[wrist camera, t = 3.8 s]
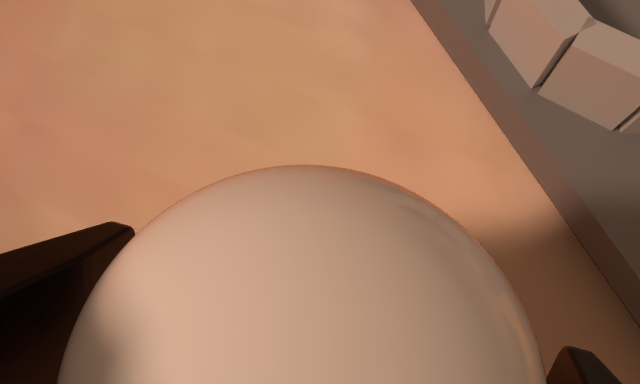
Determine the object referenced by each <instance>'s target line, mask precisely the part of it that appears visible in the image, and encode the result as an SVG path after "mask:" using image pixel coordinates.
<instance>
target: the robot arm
mask: <svg viewBox="0 0 640 384" xmlns="http://www.w3.org/2000/svg"><path fill="white" fill-rule="evenodd" d="M134 236H135V231H134V229H133V228H132V227H131V226H128V225H124V224H121V223H117V222H106V223H103V224H100V225H96V226H93V227H90V228H86V229H83V230H79V231H76V232H73V233H69V234H66V235H63V236H59V237H56V238H52V239H49V240H46V241H42V242H39V243H36V244H32V245H29V246H25V247H22V248H19V249H15V250H12V251H9V252H5V253H2V254H0V384H56V383H57V378H58V373H59V369H60V365H61V361H62V358H63V355H64V351H65V348H66V345H67V342H68V339H69V337H70V334H71V332H72V329H73V327H74V324H75V322H76V320H77V318H78V315H79V313H80V311H81V309H82V307H83V305H84V303H85V302H86V300H87V298H88V296H89V294H90V293H91V291H92V289H93V288H94V286H95V284H96V283H97V281H98V280H99V278H100V277H101V275H102V274H103V272H104V271H105V270H106V268H107V267H108V266H109V264H110V263H111V262H112V260H113V259H114V258H115V257H116V255H117V254H118V253H119V252H120V251H121V250H122V248H123V247H124V246H125V245H126V244H127V243H128V242H129V241H130V240H131V239H132V238H133V237H134ZM546 380H547V384H622V383H621V382H620V381H619V380H618V379H617V378H616V377H615V376H614V375H613V374H612V373H611V372H610V371H609V369H608V368H607V367H606V366H605V365H604V364H603V363H602V362H601V361H600V360H599V359H598V358H597V357H596V356H595V355H594V354H593V353H592V352H589V351H586V350H582V349H579V348H575V347H571V346H566V347H563V348H562V349H561V351H560V352H559V354H558V356H557V358H556V360H555V362H554V364H553V366H552V368H551V370H550V372H549V374H548V376H547V378H546Z"/></svg>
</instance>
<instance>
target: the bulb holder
mask: <svg viewBox="0 0 640 384" xmlns="http://www.w3.org/2000/svg"><path fill="white" fill-rule="evenodd" d="M411 1H412V3H413V4H414V6H415V7H416V9H417V10H418V11H419V13H420V14H421V16H422V17H423V18H424V20H425V21H426V23H427V24H428V26H429V27H430V28H431V30H432V31H433V33H434V34H435V36H436V37H437V38H438V40H439V41H440V43H441V44H442V46H443V47H444V48H445V50H446V51H447V53H448V54H449V56H450V57H451V58H452V60H453V61H454V63H455V64H456V65H457V67H458V68H459V70H460V71H461V73H462V74H463V75H464V77H465V78H466V80H467V81H468V83H469V84H470V85H471V87H472V88H473V90H474V91H475V93H476V94H477V95H478V97H479V98H480V100H481V101H482V103H483V104H484V105H485V107H486V108H487V110H488V111H489V113H490V114H491V115H492V117H493V118H494V120H495V121H496V122H497V124H498V125H499V127H500V128H501V130H502V131H503V132H504V134H505V135H506V137H507V138H508V140H509V141H510V142H511V144H512V145H513V147H514V148H515V150H516V151H517V152H518V154H519V155H520V157H521V158H522V160H523V161H524V162H525V164H526V165H527V167H528V168H529V169H530V171H531V172H532V174H533V175H534V177H535V178H536V179H537V181H538V182H539V184H540V185H541V187H542V188H543V189H544V191H545V192H546V194H547V195H548V197H549V198H550V199H551V201H552V202H553V204H554V205H555V207H556V208H557V209H558V211H559V212H560V214H561V215H562V216H563V218H564V219H565V221H566V222H567V224H568V225H569V226H570V228H571V229H572V231H573V232H574V234H575V235H576V236H577V238H578V239H579V241H580V242H581V244H582V245H583V246H584V248H585V249H586V251H587V252H588V254H589V255H590V256H591V258H592V259H593V261H594V262H595V263H596V265H597V266H598V268H599V269H600V271H601V272H602V273H603V275H604V276H605V278H606V279H607V281H608V282H609V283H610V285H611V286H612V288H613V289H614V291H615V292H616V293H617V295H618V296H619V298H620V299H621V301H622V302H623V303H624V305H625V306H626V308H627V309H628V310H629V312H630V313H631V315H632V316H633V318H634V319H635V320H636V322H637V323H638V325H639V326H640V0H411Z"/></svg>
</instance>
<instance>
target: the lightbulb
mask: <svg viewBox="0 0 640 384" xmlns="http://www.w3.org/2000/svg"><path fill="white" fill-rule="evenodd" d="M56 384H547V380H546V375H545V370H544V365H543V361H542V357H541V353H540V350H539V347H538V343H537V340H536V337H535V335H534V332H533V329H532V327H531V324H530V322H529V319H528V317H527V315H526V312H525V310H524V308H523V306H522V304H521V302H520V300H519V298H518V296H517V294H516V293H515V291H514V289H513V287H512V286H511V284H510V282H509V281H508V279H507V278H506V276H505V275H504V273H503V272H502V270H501V269H500V267H499V266H498V265H497V263H496V262H495V261H494V259H493V258H492V257H491V256H490V254H489V253H488V252H487V251H486V250H485V248H484V247H483V246H482V245H481V244H480V243H479V242H478V241H477V240H476V239H475V238H474V237H473V236H472V235H471V234H470V233H469V232H468V231H467V230H466V229H465V228H464V227H463V226H462V225H461V224H459V223H458V222H457V221H456V220H455V219H453V218H452V217H451V216H450V215H448V214H447V213H446V212H444V211H443V210H442V209H440V208H439V207H437V206H436V205H434V204H433V203H431V202H430V201H428V200H426V199H425V198H423V197H421V196H420V195H418V194H416V193H414V192H412V191H410V190H408V189H406V188H404V187H402V186H400V185H398V184H395V183H393V182H391V181H388V180H386V179H383V178H380V177H377V176H374V175H371V174H367V173H364V172H360V171H356V170H351V169H346V168H340V167H333V166H322V165H284V166H274V167H267V168H262V169H257V170H252V171H248V172H244V173H240V174H237V175H233V176H230V177H228V178H225V179H222V180H219V181H217V182H214V183H212V184H210V185H207V186H205V187H203V188H201V189H199V190H197V191H195V192H193V193H191V194H190V195H188V196H186V197H184V198H183V199H181V200H179V201H178V202H176V203H175V204H173V205H172V206H170V207H168V208H167V209H166V210H164V211H163V212H162V213H160V214H159V215H158V216H156V217H155V218H154V219H153V220H151V221H150V222H149V223H148V224H147V225H146V226H144V227H143V228H142V229H141V230H140V231H139V232H138V233H137V234H136V235H135V236H134V237H133V238H132V239H131V240H130V241H129V242H128V243H127V244H126V245H125V246H124V247H123V248H122V250H121V251H120V252H119V253H118V254H117V255H116V257H115V258H114V259H113V260H112V262H111V263H110V264H109V266H108V267H107V268H106V270H105V271H104V272H103V274H102V275H101V277H100V278H99V280H98V281H97V283H96V284H95V286H94V288H93V289H92V291H91V293H90V294H89V296H88V298H87V300H86V302H85V303H84V305H83V307H82V309H81V311H80V313H79V315H78V318H77V320H76V322H75V324H74V327H73V329H72V332H71V334H70V337H69V339H68V342H67V345H66V348H65V351H64V355H63V358H62V361H61V365H60V369H59V373H58V378H57V383H56Z"/></svg>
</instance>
